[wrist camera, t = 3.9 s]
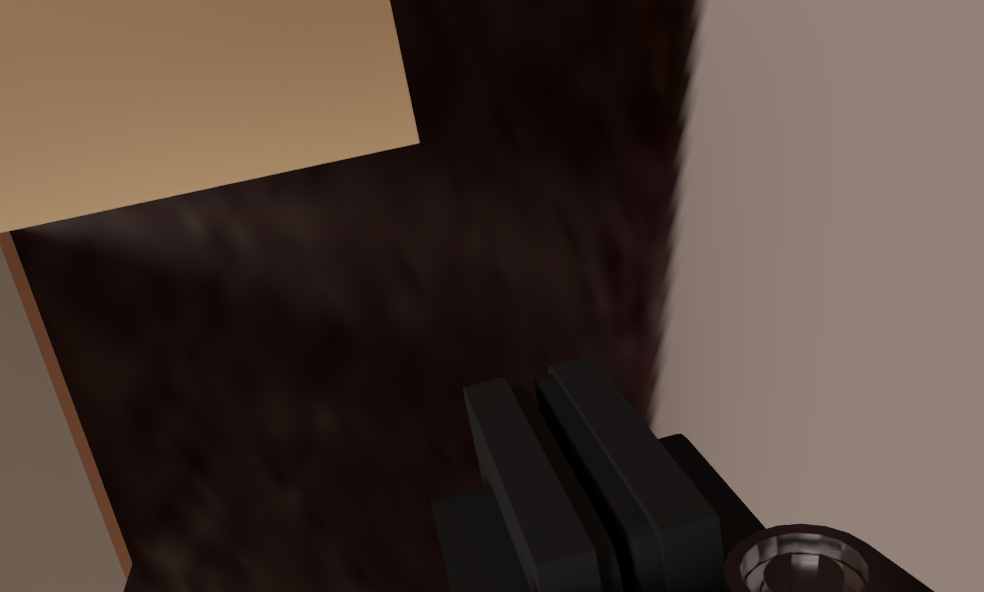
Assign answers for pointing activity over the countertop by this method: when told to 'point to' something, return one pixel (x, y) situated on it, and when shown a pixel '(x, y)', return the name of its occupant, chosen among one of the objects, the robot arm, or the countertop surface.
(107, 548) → the cream block
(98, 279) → the countertop surface
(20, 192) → the oak block
